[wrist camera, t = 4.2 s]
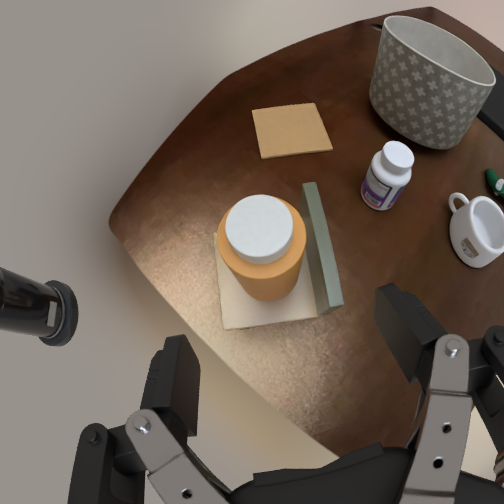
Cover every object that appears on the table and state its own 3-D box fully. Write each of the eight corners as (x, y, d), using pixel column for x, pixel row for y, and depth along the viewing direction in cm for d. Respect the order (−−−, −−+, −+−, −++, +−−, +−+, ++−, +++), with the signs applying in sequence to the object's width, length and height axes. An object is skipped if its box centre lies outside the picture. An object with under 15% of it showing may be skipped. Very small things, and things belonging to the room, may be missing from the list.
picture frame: (528, 104, 41) (452, 45, 50) (531, 100, 39) (454, 40, 48) (530, 168, 34) (425, 80, 44) (535, 163, 32) (428, 73, 42)
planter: (382, 77, 44) (398, 8, 27) (459, 121, 39) (493, 60, 22) (349, 121, 41) (367, 31, 24) (446, 179, 36) (499, 106, 18)
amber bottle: (242, 305, 23) (214, 279, 14) (235, 248, 25) (207, 190, 15) (303, 296, 23) (318, 263, 13) (293, 238, 25) (297, 175, 15)
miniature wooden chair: (240, 333, 32) (203, 326, 17) (231, 262, 35) (194, 201, 20) (315, 322, 32) (344, 304, 16) (302, 251, 35) (315, 181, 19)
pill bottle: (388, 178, 37) (410, 137, 27) (398, 210, 35) (426, 172, 26) (355, 179, 37) (372, 135, 28) (364, 212, 35) (386, 173, 26)
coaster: (261, 159, 40) (261, 157, 39) (252, 112, 43) (251, 110, 43) (332, 150, 39) (333, 148, 38) (314, 104, 43) (314, 102, 42)
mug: (497, 244, 31) (518, 230, 25) (474, 282, 30) (498, 271, 24) (454, 189, 35) (471, 169, 29) (426, 221, 34) (445, 202, 28)
